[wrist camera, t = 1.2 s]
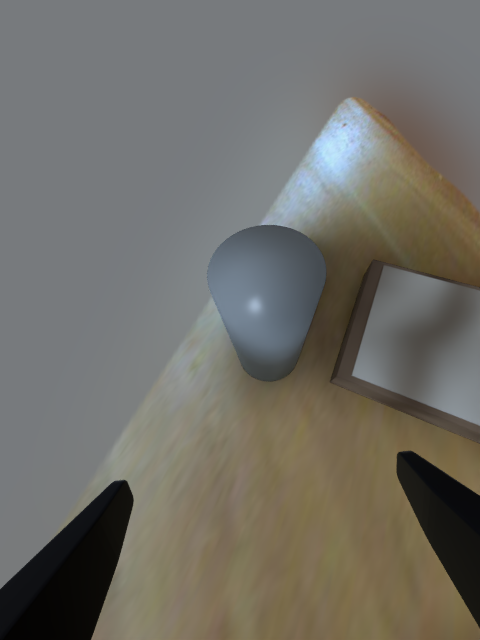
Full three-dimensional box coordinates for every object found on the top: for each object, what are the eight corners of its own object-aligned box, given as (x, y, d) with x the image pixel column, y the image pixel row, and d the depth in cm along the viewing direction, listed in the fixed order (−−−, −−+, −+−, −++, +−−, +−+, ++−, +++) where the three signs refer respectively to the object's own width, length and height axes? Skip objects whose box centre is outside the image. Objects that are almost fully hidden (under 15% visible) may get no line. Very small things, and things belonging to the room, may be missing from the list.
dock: (501, 313, 23) (529, 298, 20) (490, 448, 19) (524, 450, 16) (364, 274, 26) (374, 258, 23) (329, 382, 22) (337, 375, 19)
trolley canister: (306, 336, 24) (341, 241, 12) (285, 391, 22) (302, 342, 10) (252, 316, 25) (237, 214, 14) (228, 366, 23) (186, 298, 12)
